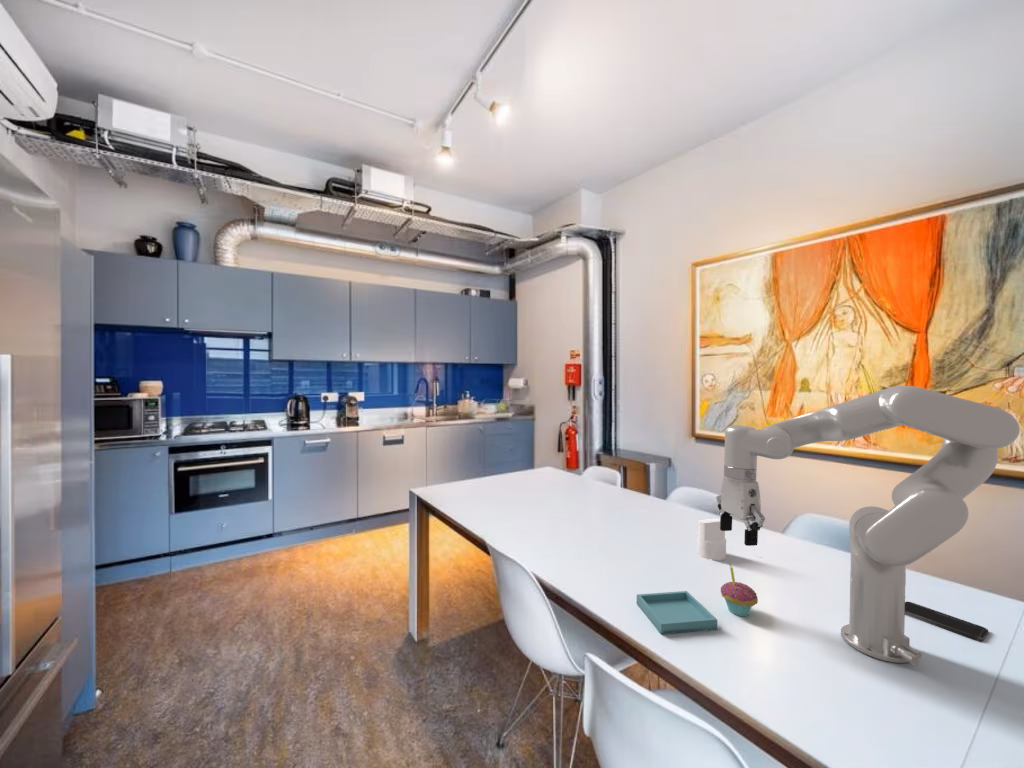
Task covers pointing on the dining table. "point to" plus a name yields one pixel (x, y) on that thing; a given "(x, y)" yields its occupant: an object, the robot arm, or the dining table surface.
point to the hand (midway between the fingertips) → (737, 537)
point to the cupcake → (738, 596)
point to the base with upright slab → (711, 540)
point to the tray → (676, 612)
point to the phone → (946, 622)
